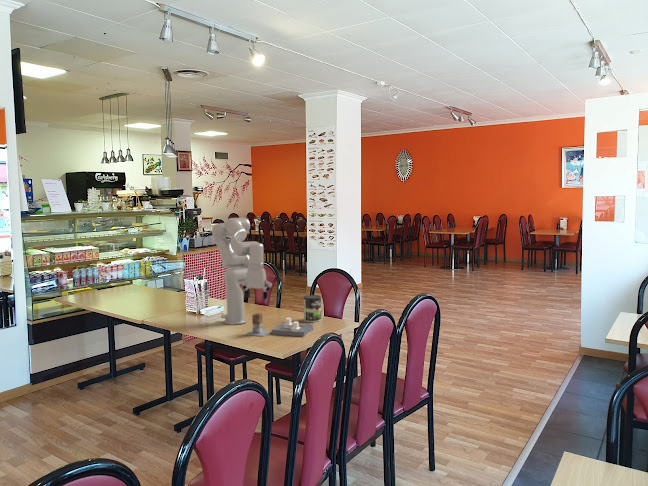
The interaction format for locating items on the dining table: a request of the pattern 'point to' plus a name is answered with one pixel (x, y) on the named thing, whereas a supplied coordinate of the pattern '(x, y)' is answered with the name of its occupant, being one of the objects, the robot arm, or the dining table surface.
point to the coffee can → (312, 308)
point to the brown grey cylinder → (257, 323)
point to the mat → (257, 334)
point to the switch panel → (287, 330)
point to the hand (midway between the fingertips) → (256, 298)
